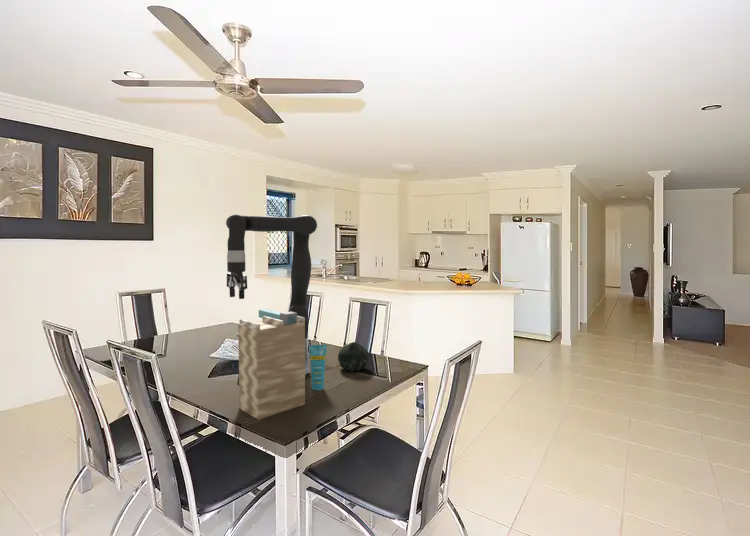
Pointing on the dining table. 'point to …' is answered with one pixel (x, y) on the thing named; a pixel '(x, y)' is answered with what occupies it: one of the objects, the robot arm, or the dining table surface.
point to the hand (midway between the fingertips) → (236, 297)
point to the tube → (317, 365)
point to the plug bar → (280, 316)
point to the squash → (353, 357)
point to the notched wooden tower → (271, 366)
